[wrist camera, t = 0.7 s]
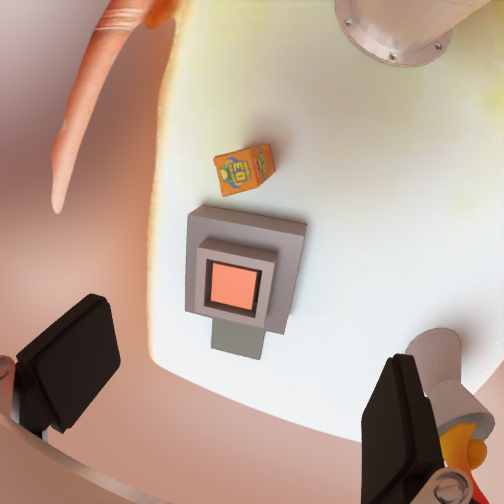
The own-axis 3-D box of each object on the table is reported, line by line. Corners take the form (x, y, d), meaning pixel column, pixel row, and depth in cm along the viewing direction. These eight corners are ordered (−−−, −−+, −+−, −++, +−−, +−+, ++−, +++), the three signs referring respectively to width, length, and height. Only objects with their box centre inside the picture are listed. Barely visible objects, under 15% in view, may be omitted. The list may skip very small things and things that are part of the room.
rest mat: (214, 305, 41) (213, 307, 40) (267, 317, 40) (266, 320, 39) (212, 345, 44) (210, 347, 43) (260, 357, 43) (259, 360, 42)
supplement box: (278, 172, 33) (259, 191, 24) (247, 178, 34) (217, 199, 25) (272, 142, 32) (249, 148, 23) (240, 148, 33) (207, 158, 24)
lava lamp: (392, 373, 39) (399, 623, 8) (417, 322, 35) (465, 612, 4) (444, 379, 38) (478, 601, 6) (472, 330, 34) (547, 573, 3)
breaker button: (222, 251, 34) (213, 263, 32) (262, 260, 34) (256, 272, 31) (219, 287, 36) (210, 300, 33) (257, 295, 35) (251, 309, 33)
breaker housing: (201, 205, 36) (177, 221, 30) (306, 224, 34) (302, 245, 28) (196, 294, 41) (176, 322, 35) (288, 315, 39) (280, 348, 33)
